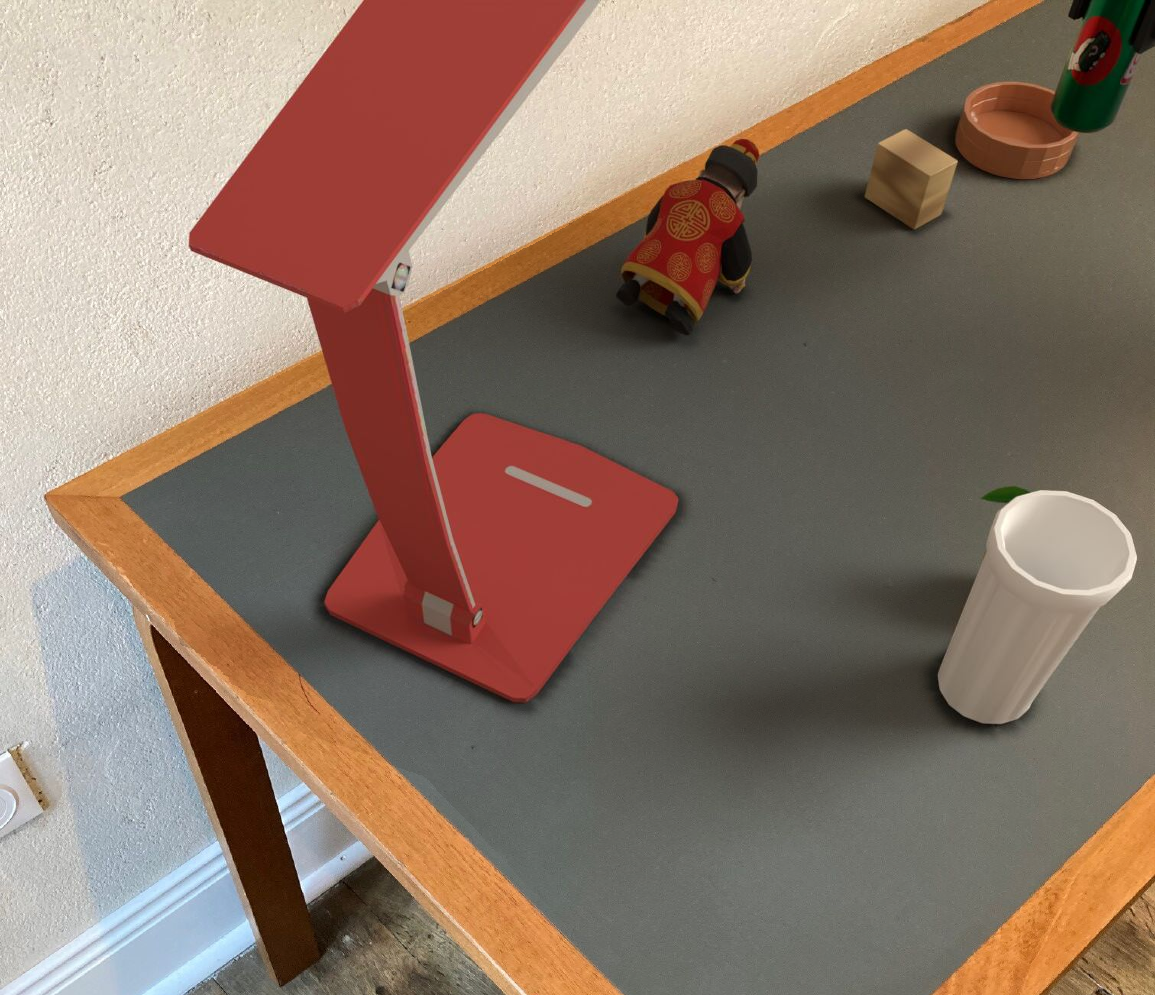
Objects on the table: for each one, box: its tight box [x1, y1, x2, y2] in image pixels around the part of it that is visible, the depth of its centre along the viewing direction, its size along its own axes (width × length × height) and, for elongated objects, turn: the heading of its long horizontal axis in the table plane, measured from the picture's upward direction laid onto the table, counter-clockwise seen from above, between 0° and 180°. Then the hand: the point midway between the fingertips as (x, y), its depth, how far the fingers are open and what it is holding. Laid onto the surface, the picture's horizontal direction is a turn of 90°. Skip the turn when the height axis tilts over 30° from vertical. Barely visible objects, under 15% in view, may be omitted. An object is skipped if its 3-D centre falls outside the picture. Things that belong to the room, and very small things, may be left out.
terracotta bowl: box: [954, 81, 1081, 180], centre depth 108 cm, size 11×11×3 cm
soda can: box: [1050, 0, 1151, 134], centre depth 87 cm, size 5×5×12 cm
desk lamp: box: [188, 0, 679, 703], centre depth 67 cm, size 18×38×40 cm, turn 151°
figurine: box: [615, 138, 760, 336], centre depth 94 cm, size 10×10×15 cm
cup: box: [937, 489, 1138, 725], centre depth 71 cm, size 8×8×14 cm
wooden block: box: [864, 128, 959, 231], centre depth 102 cm, size 6×4×5 cm, turn 39°
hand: (1115, 27), depth 87 cm, fingers closed on soda can, 5 cm apart
